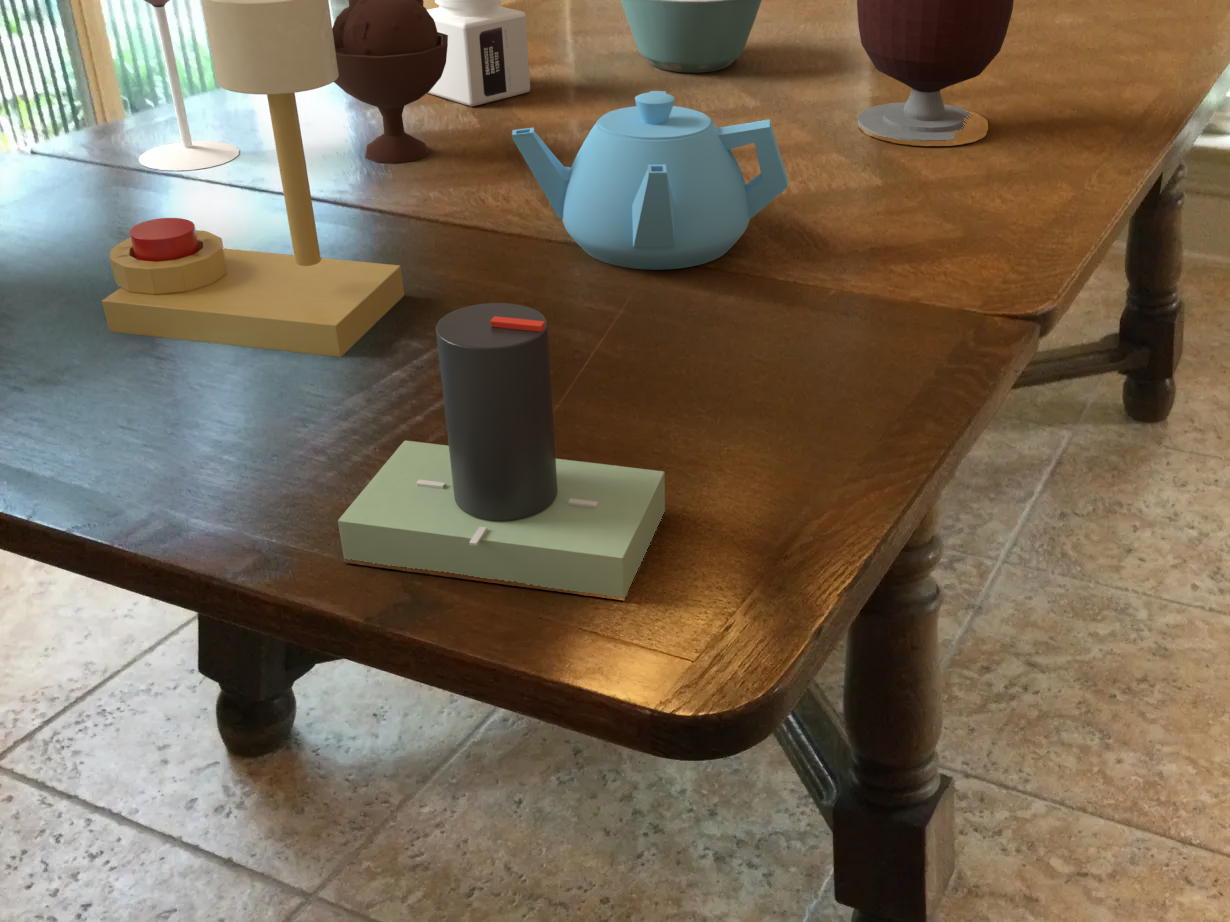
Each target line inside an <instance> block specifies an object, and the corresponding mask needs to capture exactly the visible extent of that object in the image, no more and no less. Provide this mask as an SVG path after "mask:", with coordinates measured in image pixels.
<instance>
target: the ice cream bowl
mask: <svg viewBox="0 0 1230 922" xmlns="http://www.w3.org/2000/svg"><path fill="white" fill-rule="evenodd" d="M347 2H348V6H347V7H345V8H343V9H342V10H341V12H340V13H339V14H338V15H337V16H336V18H335V20H334V23H333V24H332V30H333V37H334V45H335V52H336V59H337V66H338V73H339V76H338V78H337V80H335V81H334V82H333V83H334V84H335V85H337V86H338V87H339V88H340V89H341V90H342V91H343V92H344V93H346V94H347V95H349V96H351V97H353V98H354V99H356V100H358V101H360V102H362V103H365V104H368V105H370V106H373V107H376V108H377V109H378V111H379V113H380V114H381V116H382V125H383V133H382V134H381V135H379V136H378V137H377V138H375V139H373V140H372V141H371V142H369V143H367V145H366V150H365V156H364V157H365V158H366V159H369V160H370V161H373V162H376V163H389V164H399V163H400V164H401V163H406V162H413V161H417V160H419V159H422V158H424V157H426V156H428V151H427V149H428V146H427V144H426V142H425V141H423V140H420V139H418V138H416V137H415V136H413V135H411V134H409V133H407V132H405V126H404V120H403V119H404V118H403V112H404V109H405V107H406V106H407V105H410V104H412V103H414V102H417V101H418V100H420V99H421V98H423V97H424V96H425V95H427V94H429V93H428V92H429V91H430V90H431V89H432V88H433V86H434V85H435V84H436V83H437V82H438V80H439V79H440V78H441V76H442V73H443V70H444V67H445V64H446V58H447V47H448V35H446V34H443V33H439V32H437V28H436V25H435V21H434V19H433V18H432V17H431V15H430V14H429V13H428V11H427V8H426V7H425V6H424V2H425V1H424V0H347Z"/></svg>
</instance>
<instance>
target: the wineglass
mask: <svg viewBox="0 0 1230 922" xmlns="http://www.w3.org/2000/svg"><path fill="white" fill-rule="evenodd" d="M143 1H144V2H146V3H148V4H150V5H151V6H152V7H153V11H154V16H155V20H156V25H157V26H156V27H157V30H158V34H159V40H160V45H161V50H162V54H163V55H162V56H163V59H164V64H165V69H166V73H167V79H168V84H169V88H170V93H171V98H172V103H173V107H174V112H175V113H174V114H175V118H176V122H177V126H178V133H179V137H180V142H172V143H168V144H164V145H160V146H156V147H153V148H150V149H148V150H146V151H144V152H143V153H142V154H140V156H139V158H138V162H139V163H140V165H142V166H144V167H146V168H148V169H154V170H159V171H173V172H174V171H175V172H177V171H193V170H200V169H206V168H207V169H208V168H212V167H215V166H220V165H223V164H226V163H228V162H230V161H232V160H234V159H235V158H236V157H238V156H239V154H240V149H239V148H238V147H237V146H236V145H234V144H231V143H229V142H223V141H216V140H192V135H191V131H190V130H191V129H190V125H189V120H188V116H187V111H186V106H185V101H184V96H183V91H182V87H181V81H180V77H179V72H178V66H177V62H176V57H175V52H174V47H173V42H172V36H171V32H170V27H169V23H168V17H167V12H166V7H165V6H166V4H167V3H168V2H169V1H170V0H143Z"/></svg>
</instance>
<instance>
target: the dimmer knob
mask: <svg viewBox="0 0 1230 922" xmlns="http://www.w3.org/2000/svg"><path fill="white" fill-rule="evenodd" d="M435 336H436V345H437V353H438V362H439V364H438V365H439V371H440V380H441V390H442V391H441V392H442V397H443V399H442V400H443V407H444V416H445V417H444V419H445V426H446V427H445V428H446V434H447V444H448V445H447V446H449V454H450V463H451V472H452V481H453V490H454V498H455V502H456V504H457V505H458V507H459V508H460V509H461V510H462V511H464V512H465V513H467V514H469V515H471V516H474V517H476V518H480V519H485V520H493V521H509V520H517V519H522V518H526V517H529V516H532V515H535V514H537V513H539V512H541V511H543V510H545V509H546V508H547V507H549V506H550V505H551V504H552V503H553V501H554V500H555V498H556V496H557V492H558V490H557V473H556V459H557V458H556V457H557V456H556V441H555V425H554V410H553V409H554V407H553V393H552V377H551V376H552V375H551V360H550V346H549V345H550V344H549V328H548V321H547V318H546V317H545V316H544V315H543V313H541V312H540V311H538V310H536V309H534V308H532V307H529V306H525V305H522V304H517V303H507V302H487V303H478V304H472V305H467V306H464V307H460V308H458V309H455V310H453V311H452V310H451V312H448V313H447V314H445V315H444V316H442V317H441V318H440V319H439V320H438V322H437V324H436V327H435Z"/></svg>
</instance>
